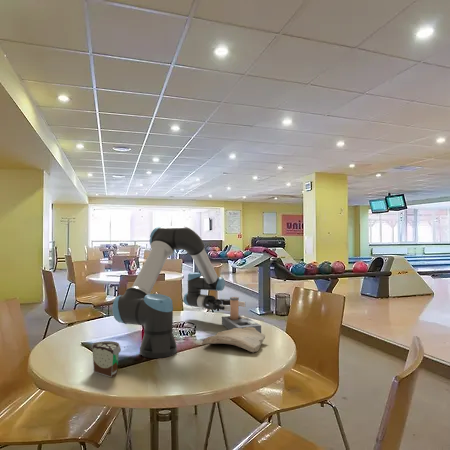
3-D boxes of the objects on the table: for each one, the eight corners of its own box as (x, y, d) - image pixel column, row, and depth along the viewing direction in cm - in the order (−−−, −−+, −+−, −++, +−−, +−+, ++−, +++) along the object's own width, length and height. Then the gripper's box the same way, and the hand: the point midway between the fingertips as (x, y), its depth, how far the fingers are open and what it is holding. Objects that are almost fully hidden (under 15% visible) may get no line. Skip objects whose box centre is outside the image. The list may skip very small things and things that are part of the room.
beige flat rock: (218, 338, 174) (200, 346, 156) (220, 322, 175) (201, 328, 156) (268, 346, 165) (254, 355, 146) (268, 329, 165) (255, 336, 147)
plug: (240, 326, 191) (240, 298, 191) (231, 327, 189) (231, 298, 190) (236, 324, 195) (236, 296, 196) (228, 325, 194) (228, 297, 194)
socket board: (261, 333, 178) (261, 324, 178) (238, 336, 174) (238, 327, 174) (242, 322, 200) (242, 314, 201) (221, 324, 196) (221, 316, 196)
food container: (128, 372, 129) (128, 344, 129) (114, 378, 124) (114, 348, 124) (105, 365, 136) (105, 338, 136) (91, 371, 130) (91, 343, 131)
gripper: (220, 304, 214) (250, 309, 201) (191, 312, 194) (223, 318, 181) (220, 292, 214) (250, 295, 201) (191, 298, 194) (223, 303, 182)
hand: (237, 306), depth 191 cm, fingers open, 13 cm apart
